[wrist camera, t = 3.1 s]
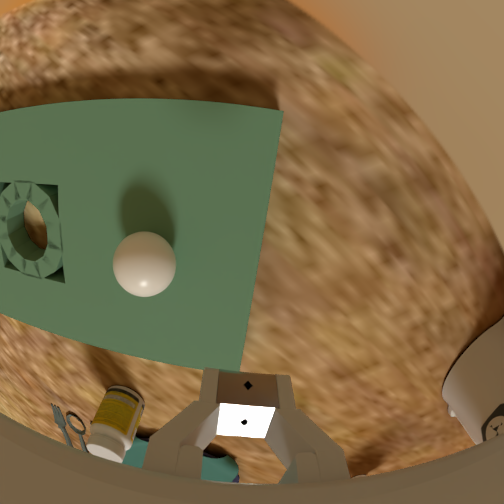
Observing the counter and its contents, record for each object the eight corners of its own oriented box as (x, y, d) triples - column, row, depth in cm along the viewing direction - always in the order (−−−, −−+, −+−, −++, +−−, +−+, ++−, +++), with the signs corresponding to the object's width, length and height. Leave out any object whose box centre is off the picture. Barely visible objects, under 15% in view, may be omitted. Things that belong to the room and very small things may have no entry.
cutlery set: (226, 494, 39) (225, 504, 37) (71, 447, 37) (67, 456, 35) (255, 448, 33) (255, 462, 30) (47, 384, 30) (40, 394, 28)
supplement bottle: (100, 383, 28) (73, 438, 20) (133, 383, 28) (109, 444, 20) (120, 410, 30) (99, 463, 22) (152, 410, 29) (134, 468, 21)
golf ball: (184, 227, 19) (167, 250, 15) (181, 282, 20) (166, 314, 16) (127, 220, 18) (99, 240, 15) (128, 273, 20) (104, 302, 16)
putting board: (280, 114, 18) (283, 111, 16) (240, 355, 25) (238, 374, 23) (-3, 115, 17) (-20, 116, 15) (12, 301, 24) (0, 313, 22)
